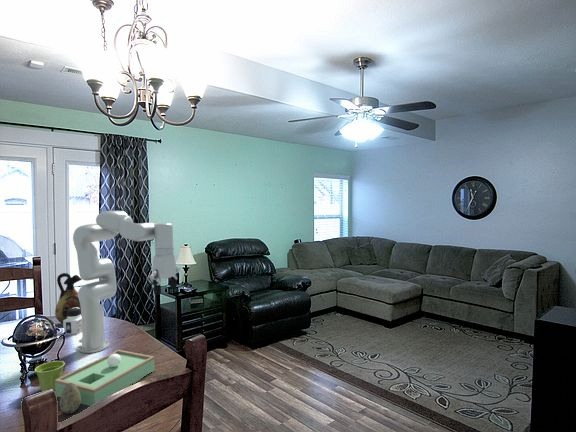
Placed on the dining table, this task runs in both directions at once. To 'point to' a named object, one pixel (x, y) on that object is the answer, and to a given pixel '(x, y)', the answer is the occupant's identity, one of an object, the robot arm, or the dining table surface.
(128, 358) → the putting tray
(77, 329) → the container
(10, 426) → the dining table surface
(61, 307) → the ceramic jug
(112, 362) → the ball
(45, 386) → the plant pot
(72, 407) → the decorative egg
